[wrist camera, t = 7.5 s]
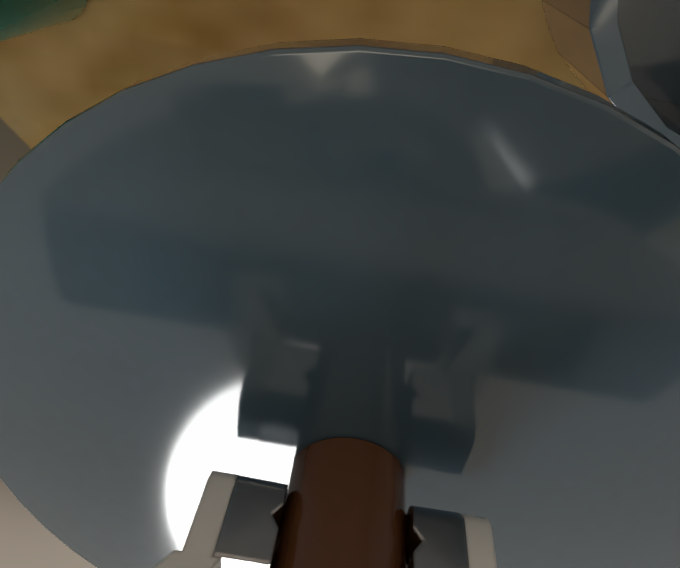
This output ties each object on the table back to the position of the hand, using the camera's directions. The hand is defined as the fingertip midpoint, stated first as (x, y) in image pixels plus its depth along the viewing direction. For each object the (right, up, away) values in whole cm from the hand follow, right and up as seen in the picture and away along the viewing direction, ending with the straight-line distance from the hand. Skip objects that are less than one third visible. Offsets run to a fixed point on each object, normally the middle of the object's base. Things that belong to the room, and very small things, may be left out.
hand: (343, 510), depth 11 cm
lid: (0, +1, +1) cm, 2 cm away
